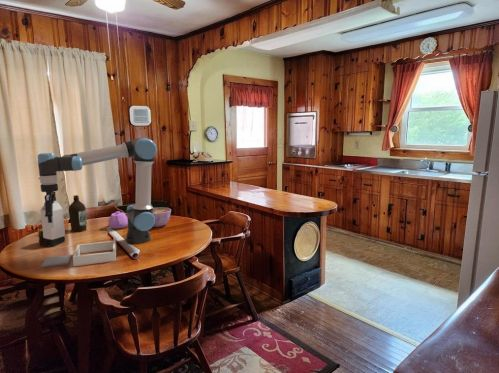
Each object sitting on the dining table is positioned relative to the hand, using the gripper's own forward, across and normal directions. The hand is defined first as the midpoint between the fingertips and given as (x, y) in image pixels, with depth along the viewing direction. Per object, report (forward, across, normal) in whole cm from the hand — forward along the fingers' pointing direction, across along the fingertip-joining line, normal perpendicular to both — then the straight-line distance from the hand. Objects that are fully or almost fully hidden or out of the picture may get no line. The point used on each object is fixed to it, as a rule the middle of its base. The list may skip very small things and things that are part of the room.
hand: (53, 225), depth 166 cm
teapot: (+20, -56, +30) cm, 67 cm away
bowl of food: (+20, -51, +57) cm, 79 cm away
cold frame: (+20, 0, +19) cm, 27 cm away
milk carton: (+6, 0, 0) cm, 6 cm away
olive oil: (+20, -59, +4) cm, 62 cm away
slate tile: (+20, 0, 0) cm, 20 cm away
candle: (+20, -34, -8) cm, 40 cm away
